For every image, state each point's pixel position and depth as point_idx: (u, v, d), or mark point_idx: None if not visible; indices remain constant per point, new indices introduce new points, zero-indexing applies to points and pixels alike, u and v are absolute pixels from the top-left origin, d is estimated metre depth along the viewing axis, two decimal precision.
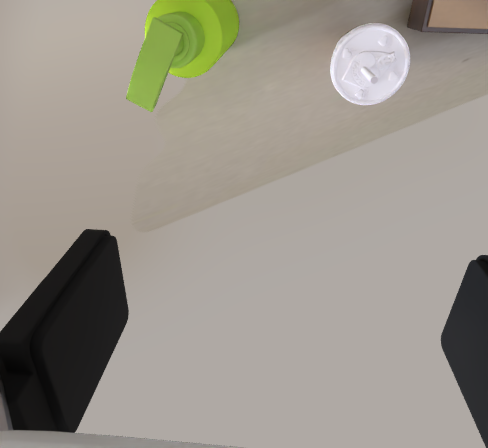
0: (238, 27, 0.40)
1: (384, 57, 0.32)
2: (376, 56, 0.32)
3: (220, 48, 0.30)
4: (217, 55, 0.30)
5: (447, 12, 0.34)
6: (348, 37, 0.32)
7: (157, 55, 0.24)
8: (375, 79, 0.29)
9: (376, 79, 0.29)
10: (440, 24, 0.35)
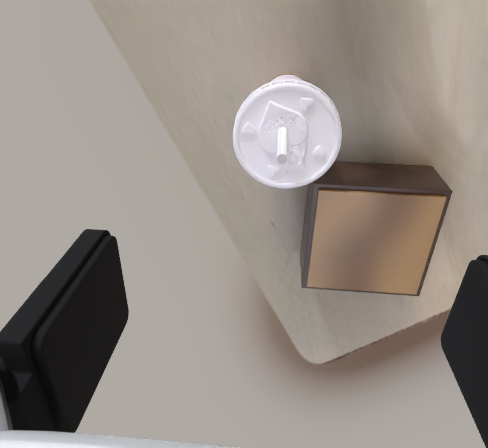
0: None
1: (298, 156, 0.23)
2: (300, 146, 0.23)
3: None
4: None
5: (332, 207, 0.30)
6: (328, 103, 0.22)
7: None
8: (282, 160, 0.19)
9: (283, 162, 0.19)
10: (320, 202, 0.30)
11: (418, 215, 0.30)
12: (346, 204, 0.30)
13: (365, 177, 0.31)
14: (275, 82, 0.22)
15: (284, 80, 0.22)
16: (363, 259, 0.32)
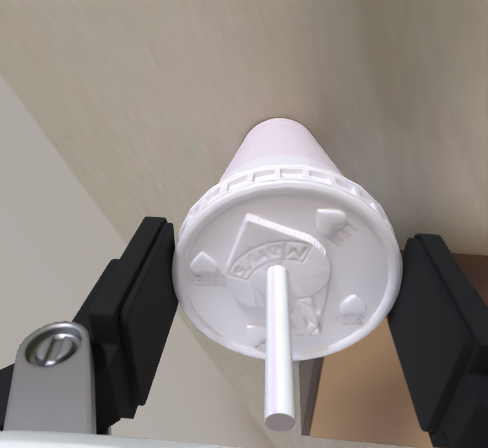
0: None
1: (310, 315, 0.11)
2: (314, 298, 0.11)
3: None
4: None
5: None
6: (379, 221, 0.10)
7: None
8: (281, 419, 0.07)
9: (282, 428, 0.07)
10: None
11: None
12: (377, 336, 0.18)
13: None
14: (259, 171, 0.10)
15: (279, 167, 0.10)
16: (400, 408, 0.20)
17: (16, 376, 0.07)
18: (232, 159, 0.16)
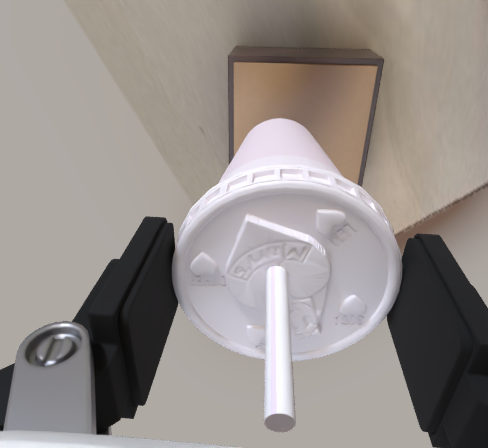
0: None
1: (309, 316, 0.11)
2: (314, 298, 0.11)
3: None
4: None
5: (250, 84, 0.26)
6: (378, 222, 0.10)
7: None
8: (280, 420, 0.07)
9: (282, 428, 0.07)
10: (237, 79, 0.26)
11: (348, 91, 0.26)
12: (266, 80, 0.26)
13: (290, 53, 0.27)
14: (259, 172, 0.10)
15: (279, 168, 0.10)
16: None
17: (16, 376, 0.07)
18: (232, 159, 0.16)
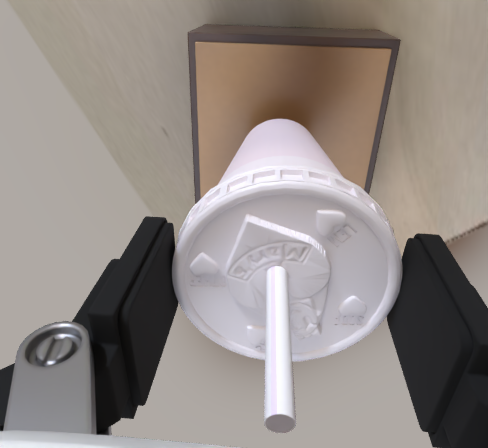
0: None
1: (309, 316, 0.11)
2: (314, 299, 0.11)
3: None
4: None
5: (218, 72, 0.20)
6: (378, 222, 0.10)
7: None
8: (281, 420, 0.07)
9: (282, 429, 0.07)
10: (200, 64, 0.19)
11: (350, 84, 0.19)
12: (239, 67, 0.19)
13: (273, 31, 0.20)
14: (259, 172, 0.10)
15: (279, 168, 0.10)
16: None
17: (16, 376, 0.07)
18: (232, 160, 0.16)
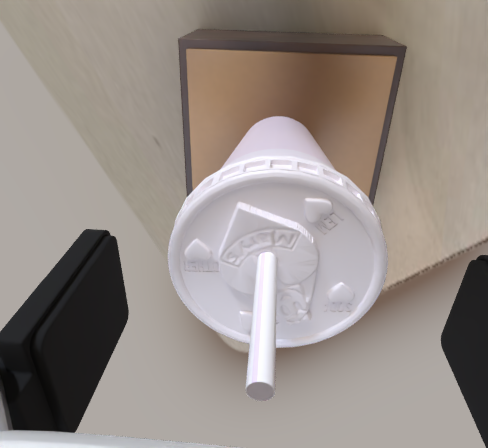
0: None
1: (299, 302, 0.12)
2: (303, 285, 0.11)
3: None
4: None
5: (212, 81, 0.18)
6: (363, 210, 0.10)
7: None
8: (261, 389, 0.08)
9: (262, 397, 0.07)
10: (192, 73, 0.18)
11: (353, 93, 0.18)
12: (234, 75, 0.18)
13: (270, 37, 0.19)
14: (251, 162, 0.11)
15: (269, 159, 0.10)
16: None
17: None
18: None
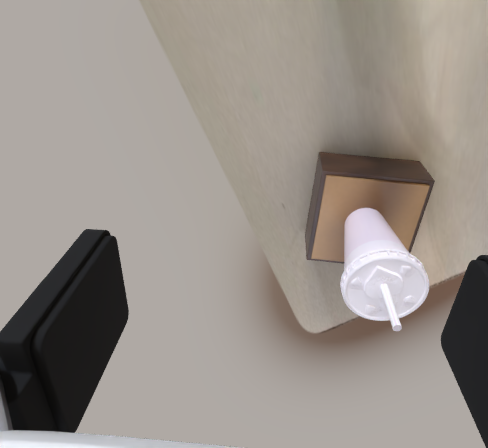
0: None
1: (393, 302, 0.30)
2: (395, 296, 0.30)
3: None
4: None
5: (336, 190, 0.37)
6: (422, 271, 0.29)
7: None
8: (396, 327, 0.26)
9: (397, 329, 0.26)
10: (327, 186, 0.36)
11: (406, 200, 0.36)
12: (348, 188, 0.36)
13: (364, 167, 0.37)
14: (381, 250, 0.29)
15: (388, 250, 0.29)
16: None
17: None
18: (351, 232, 0.35)
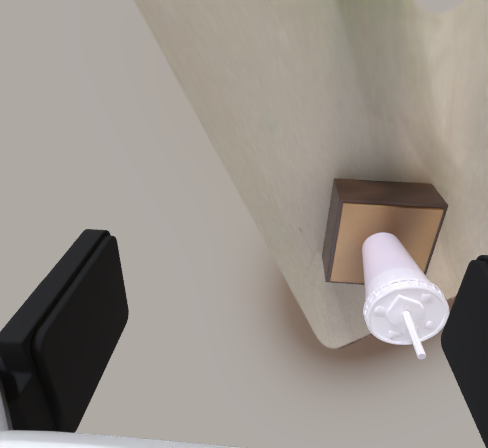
0: None
1: (414, 327, 0.32)
2: (417, 321, 0.31)
3: None
4: None
5: (353, 217, 0.38)
6: (442, 298, 0.30)
7: None
8: (421, 356, 0.27)
9: (422, 358, 0.27)
10: (344, 213, 0.38)
11: (421, 224, 0.38)
12: (364, 215, 0.38)
13: (379, 193, 0.39)
14: (402, 280, 0.30)
15: (409, 279, 0.30)
16: None
17: None
18: (369, 258, 0.36)
